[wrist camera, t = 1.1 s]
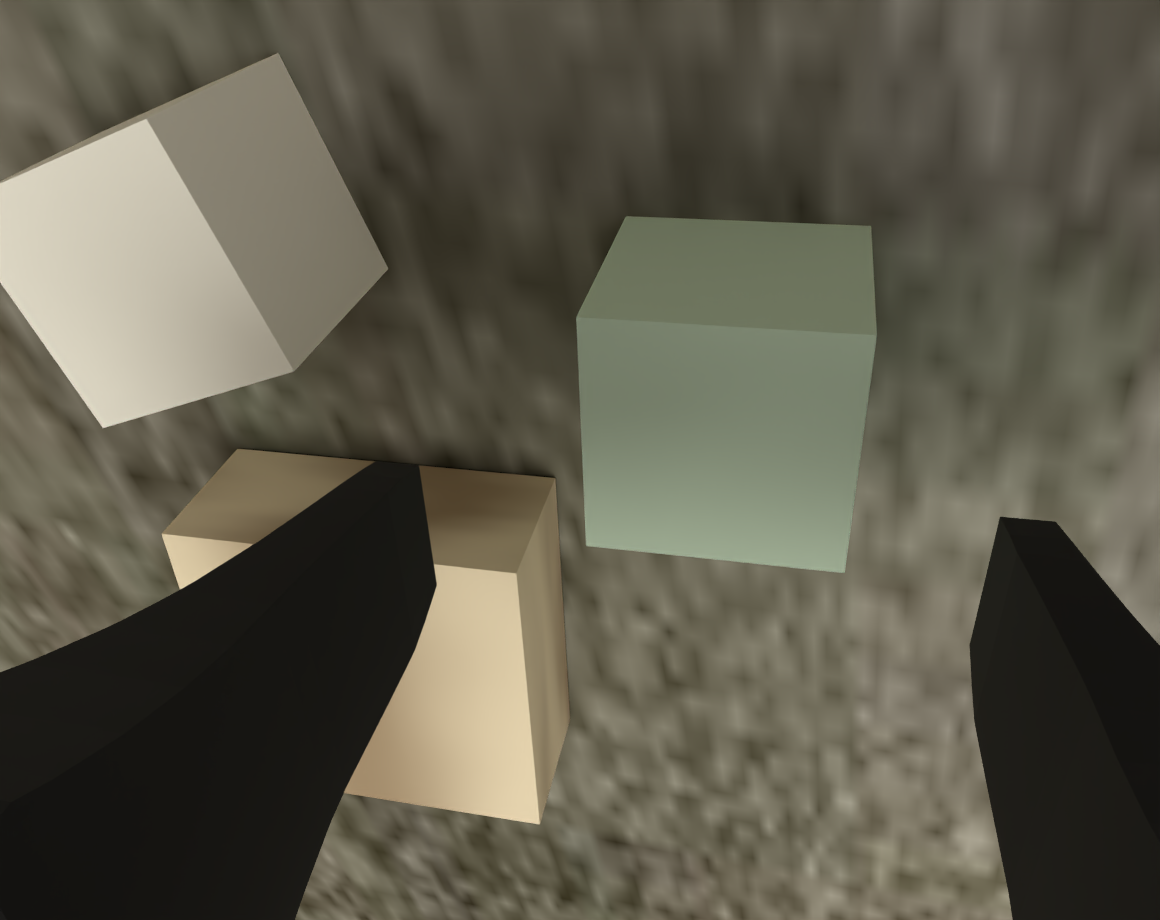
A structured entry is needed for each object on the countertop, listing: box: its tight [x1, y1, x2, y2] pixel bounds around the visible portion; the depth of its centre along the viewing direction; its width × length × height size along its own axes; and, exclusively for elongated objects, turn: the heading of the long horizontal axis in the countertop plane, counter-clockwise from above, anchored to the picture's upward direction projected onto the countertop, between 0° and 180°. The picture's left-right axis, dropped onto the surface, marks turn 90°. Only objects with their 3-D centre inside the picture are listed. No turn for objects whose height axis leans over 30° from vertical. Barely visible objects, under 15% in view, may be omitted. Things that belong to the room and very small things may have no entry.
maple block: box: [162, 449, 570, 824], centre depth 22 cm, size 7×7×3 cm
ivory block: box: [0, 53, 388, 428], centre depth 17 cm, size 4×4×4 cm
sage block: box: [576, 216, 877, 573], centre depth 16 cm, size 4×4×4 cm
